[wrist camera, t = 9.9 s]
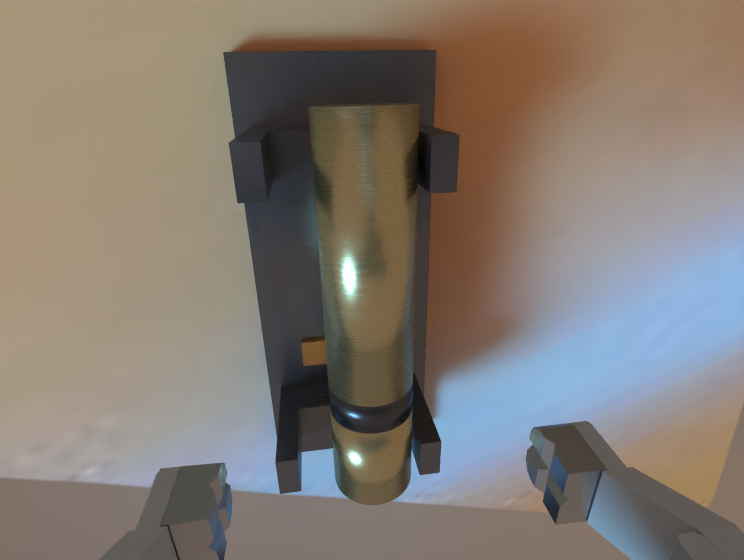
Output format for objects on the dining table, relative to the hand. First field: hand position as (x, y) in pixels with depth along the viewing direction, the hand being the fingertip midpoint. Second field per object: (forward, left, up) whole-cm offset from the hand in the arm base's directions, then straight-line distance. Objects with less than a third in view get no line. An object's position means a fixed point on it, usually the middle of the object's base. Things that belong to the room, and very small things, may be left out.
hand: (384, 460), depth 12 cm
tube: (0, 0, -10) cm, 10 cm away
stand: (0, 0, -13) cm, 13 cm away
